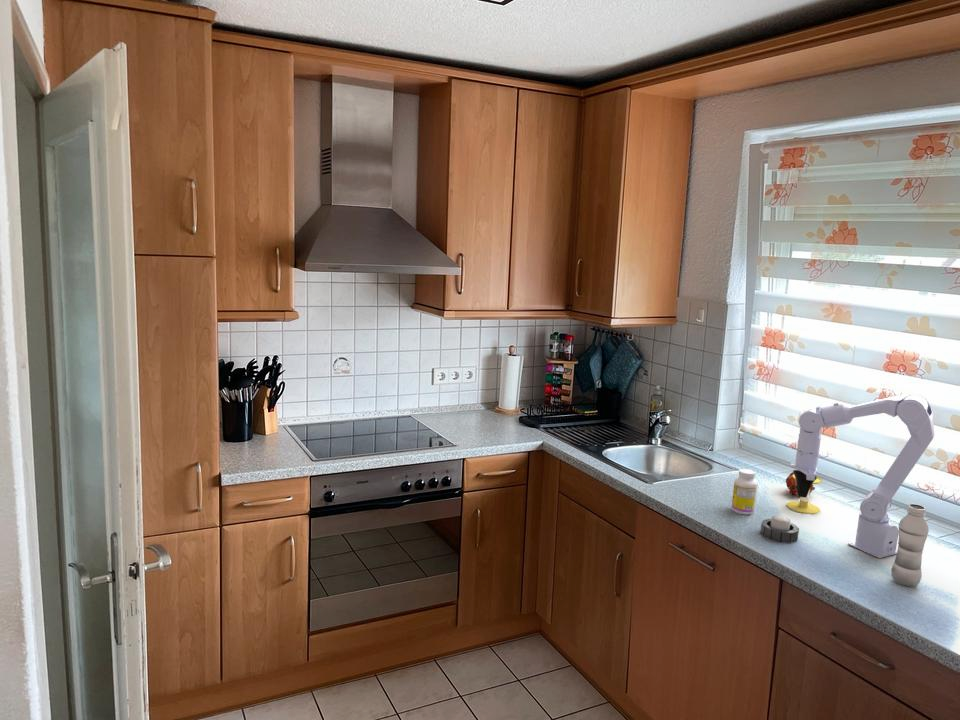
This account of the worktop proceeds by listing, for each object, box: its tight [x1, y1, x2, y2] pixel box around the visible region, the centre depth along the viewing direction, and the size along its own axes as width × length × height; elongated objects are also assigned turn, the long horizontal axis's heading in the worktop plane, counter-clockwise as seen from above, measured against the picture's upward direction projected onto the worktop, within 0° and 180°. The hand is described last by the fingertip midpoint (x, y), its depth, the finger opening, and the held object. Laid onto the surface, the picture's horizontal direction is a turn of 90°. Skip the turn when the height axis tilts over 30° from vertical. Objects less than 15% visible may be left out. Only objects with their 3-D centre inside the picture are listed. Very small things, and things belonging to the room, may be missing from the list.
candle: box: [786, 475, 823, 515], centre depth 223 cm, size 10×10×27 cm
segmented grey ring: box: [759, 518, 800, 544], centre depth 203 cm, size 10×10×3 cm
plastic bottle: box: [891, 503, 930, 587], centre depth 176 cm, size 6×7×20 cm
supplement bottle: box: [731, 468, 758, 516], centre depth 219 cm, size 7×7×13 cm
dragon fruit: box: [785, 472, 816, 497], centre depth 237 cm, size 8×8×12 cm
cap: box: [770, 515, 792, 531], centre depth 202 cm, size 5×5×5 cm
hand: (801, 496), depth 207 cm, fingers closed
